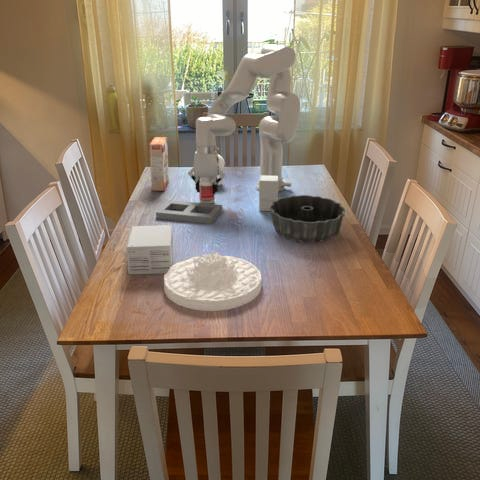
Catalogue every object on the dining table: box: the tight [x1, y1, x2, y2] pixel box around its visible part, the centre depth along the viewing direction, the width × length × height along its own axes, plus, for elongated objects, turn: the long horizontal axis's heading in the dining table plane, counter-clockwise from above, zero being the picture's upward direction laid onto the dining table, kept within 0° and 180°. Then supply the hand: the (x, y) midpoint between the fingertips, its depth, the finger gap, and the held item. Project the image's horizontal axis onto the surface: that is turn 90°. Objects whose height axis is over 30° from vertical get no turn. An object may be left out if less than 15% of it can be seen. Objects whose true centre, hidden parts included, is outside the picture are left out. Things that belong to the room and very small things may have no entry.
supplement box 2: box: [258, 175, 279, 212], centre depth 208 cm, size 7×7×13 cm
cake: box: [163, 251, 262, 312], centre depth 150 cm, size 28×28×10 cm
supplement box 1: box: [126, 224, 174, 275], centre depth 164 cm, size 17×13×9 cm
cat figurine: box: [200, 151, 226, 187], centre depth 235 cm, size 9×12×15 cm
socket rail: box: [155, 200, 223, 225], centre depth 203 cm, size 22×14×2 cm, turn 76°
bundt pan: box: [270, 194, 346, 244], centre depth 185 cm, size 26×26×10 cm
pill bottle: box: [198, 177, 215, 204], centre depth 215 cm, size 6×6×11 cm
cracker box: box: [149, 136, 170, 192], centre depth 231 cm, size 14×6×21 cm, turn 179°
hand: (206, 191), depth 216 cm, fingers closed on pill bottle, 6 cm apart
